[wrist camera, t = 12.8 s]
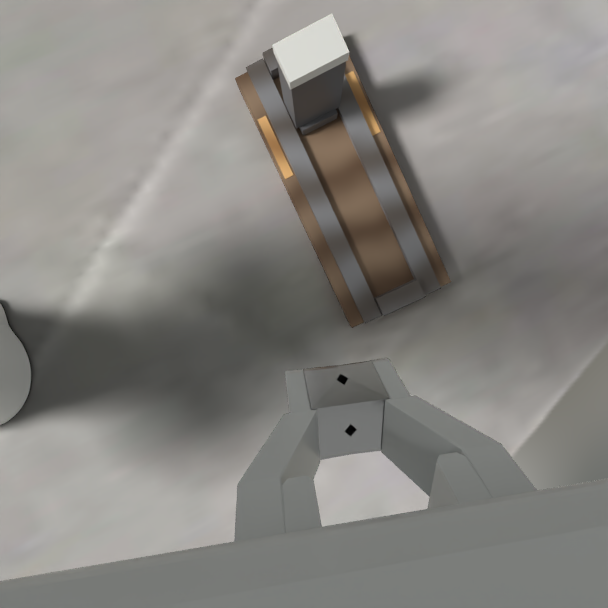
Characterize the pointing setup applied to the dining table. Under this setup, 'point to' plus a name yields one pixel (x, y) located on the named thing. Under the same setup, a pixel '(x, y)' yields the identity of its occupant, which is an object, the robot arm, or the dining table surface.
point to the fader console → (348, 197)
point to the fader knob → (312, 73)
